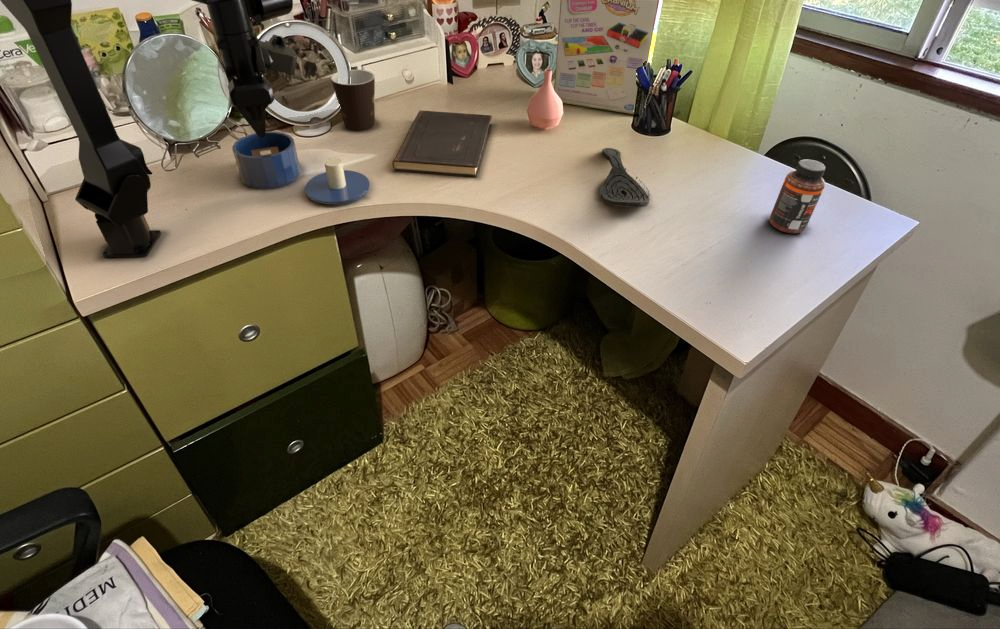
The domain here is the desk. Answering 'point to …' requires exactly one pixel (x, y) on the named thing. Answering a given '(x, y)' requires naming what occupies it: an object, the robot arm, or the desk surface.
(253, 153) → the small brown cardboard box
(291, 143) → the blue round container
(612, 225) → the desk surface
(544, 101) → the pink vase
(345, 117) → the coffee mug
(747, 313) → the desk surface
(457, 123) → the hardcover book
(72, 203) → the desk surface
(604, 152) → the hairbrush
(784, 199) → the supplement bottle
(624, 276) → the desk surface
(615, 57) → the game box
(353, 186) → the blue pot lid
